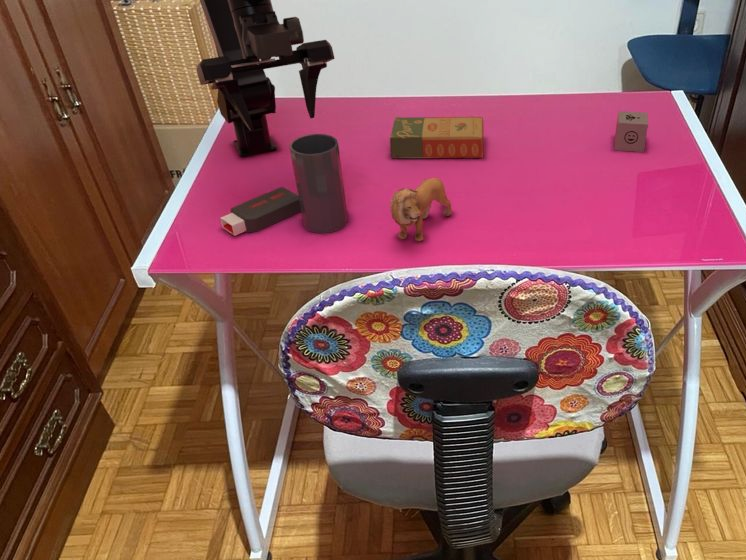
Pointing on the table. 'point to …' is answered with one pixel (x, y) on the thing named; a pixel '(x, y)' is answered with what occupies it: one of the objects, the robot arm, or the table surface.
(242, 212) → the usb drive
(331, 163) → the pen pot
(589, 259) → the table surface
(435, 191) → the lion figurine
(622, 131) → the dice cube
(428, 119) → the carton
